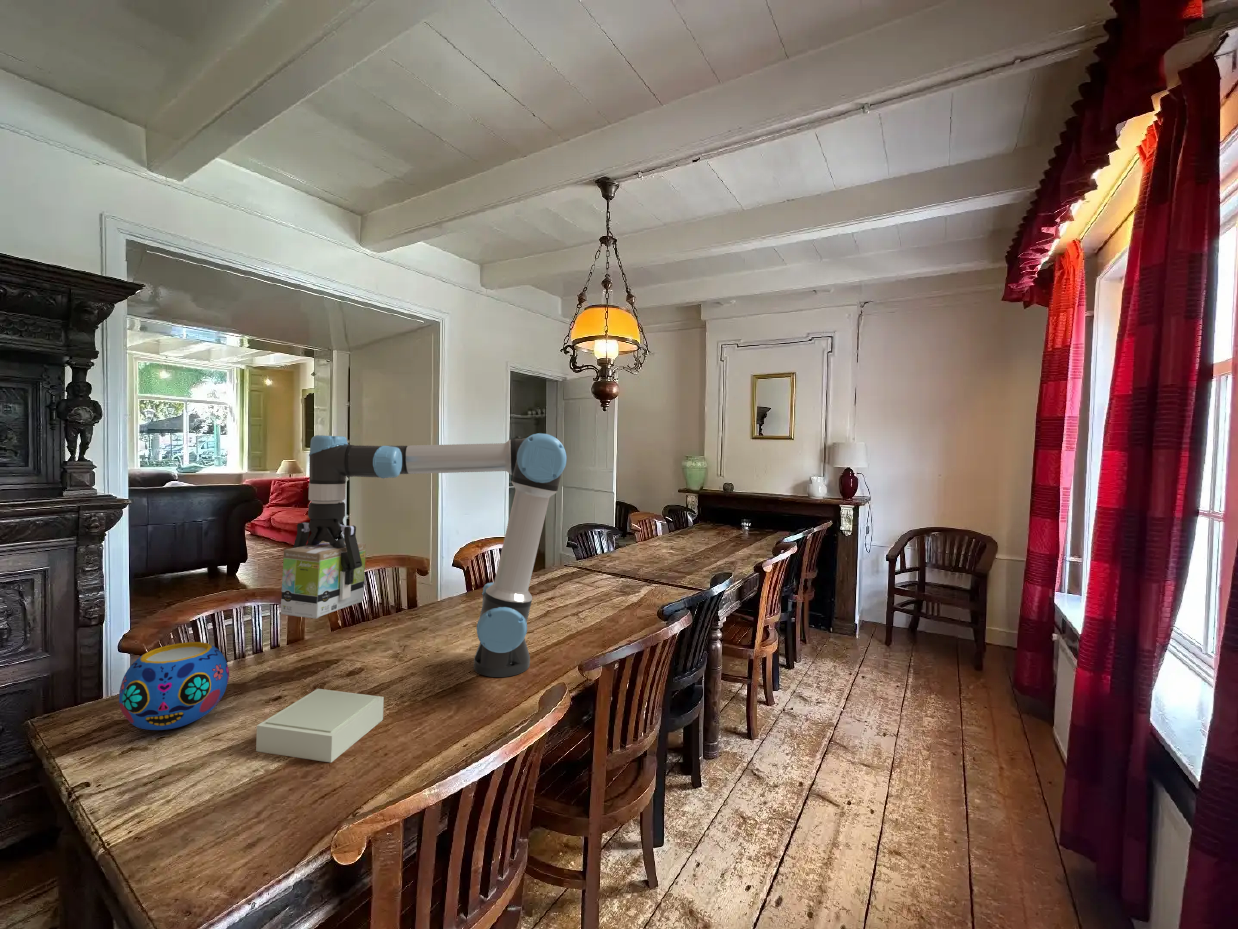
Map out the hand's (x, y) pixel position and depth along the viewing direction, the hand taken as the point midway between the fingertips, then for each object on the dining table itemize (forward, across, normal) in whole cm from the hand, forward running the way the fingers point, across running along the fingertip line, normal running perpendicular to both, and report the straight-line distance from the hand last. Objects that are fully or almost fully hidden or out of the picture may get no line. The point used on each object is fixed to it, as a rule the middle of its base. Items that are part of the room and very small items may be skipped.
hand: (324, 596), depth 122 cm
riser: (+24, -12, +14) cm, 30 cm away
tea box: (+3, 0, 0) cm, 3 cm away
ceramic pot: (+24, +20, +18) cm, 36 cm away
